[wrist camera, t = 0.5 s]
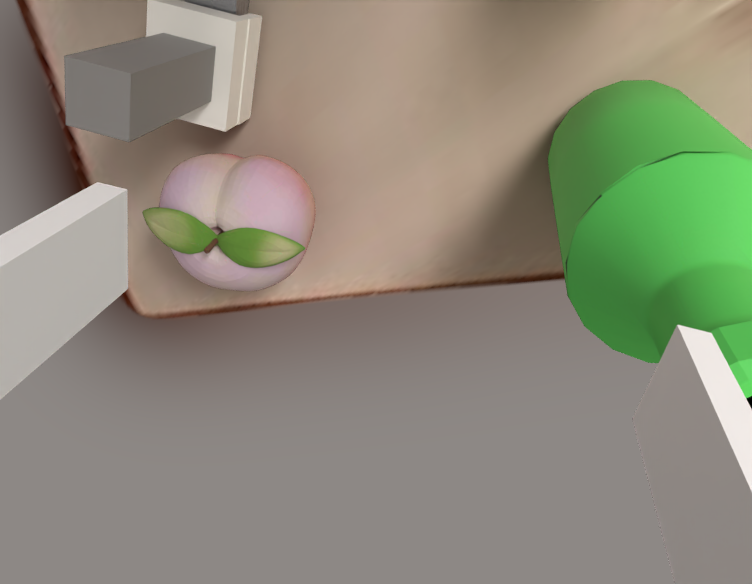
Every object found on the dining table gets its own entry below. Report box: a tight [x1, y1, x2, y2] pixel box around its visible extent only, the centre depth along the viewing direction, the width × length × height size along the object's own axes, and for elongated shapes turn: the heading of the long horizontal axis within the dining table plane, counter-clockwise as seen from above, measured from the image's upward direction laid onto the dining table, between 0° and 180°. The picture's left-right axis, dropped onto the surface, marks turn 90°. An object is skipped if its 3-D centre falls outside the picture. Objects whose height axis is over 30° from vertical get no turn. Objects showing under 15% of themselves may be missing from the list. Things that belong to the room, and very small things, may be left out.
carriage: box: [64, 0, 262, 142], centre depth 34 cm, size 6×5×13 cm
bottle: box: [548, 80, 752, 409], centre depth 27 cm, size 9×9×25 cm
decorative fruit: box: [143, 153, 315, 291], centre depth 39 cm, size 9×8×10 cm
